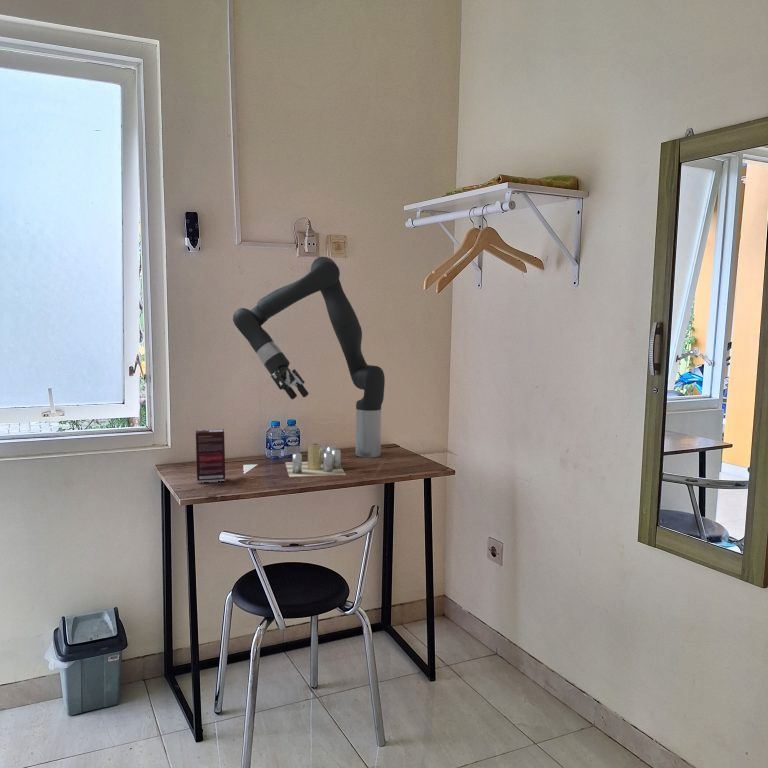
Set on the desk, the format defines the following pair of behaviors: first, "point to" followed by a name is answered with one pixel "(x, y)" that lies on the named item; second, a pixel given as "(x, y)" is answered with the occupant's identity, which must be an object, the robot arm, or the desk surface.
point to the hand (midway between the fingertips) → (300, 396)
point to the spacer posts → (328, 459)
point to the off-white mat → (248, 467)
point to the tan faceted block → (314, 456)
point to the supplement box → (210, 455)
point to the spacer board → (311, 471)
